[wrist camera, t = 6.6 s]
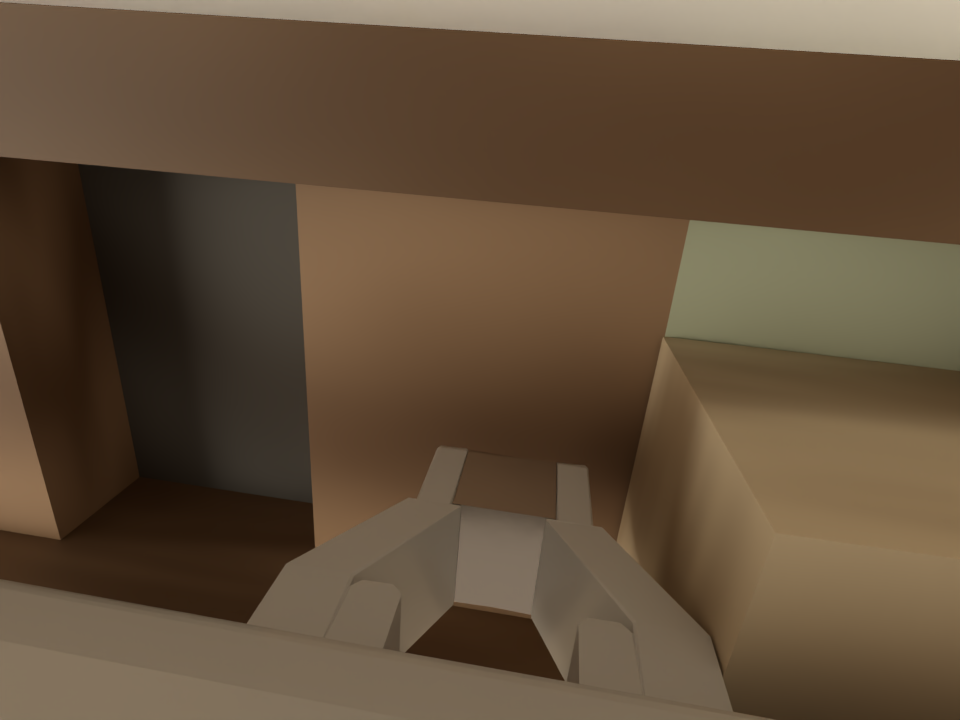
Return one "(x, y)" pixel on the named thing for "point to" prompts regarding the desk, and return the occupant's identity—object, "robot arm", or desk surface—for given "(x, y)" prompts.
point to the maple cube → (807, 526)
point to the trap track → (413, 272)
